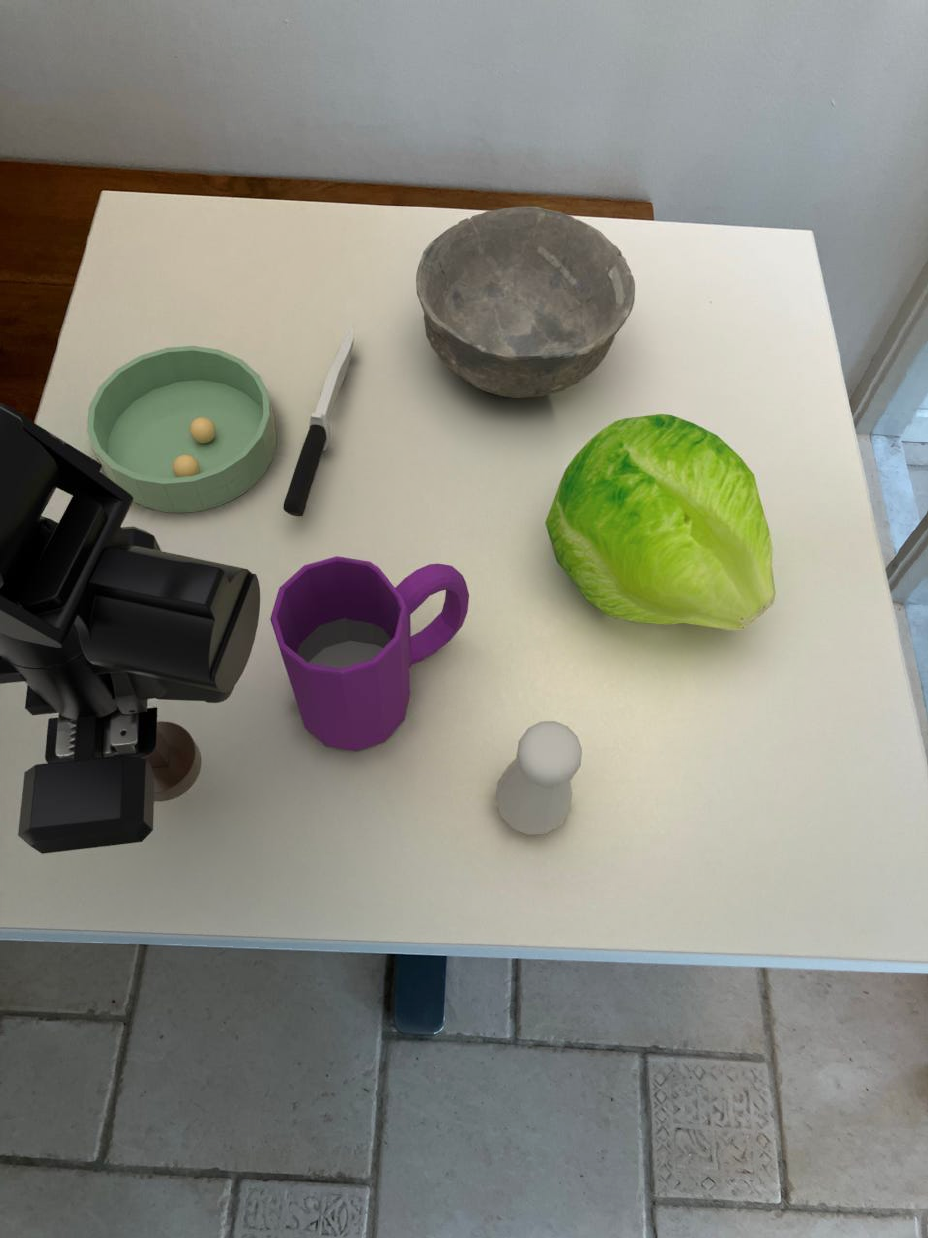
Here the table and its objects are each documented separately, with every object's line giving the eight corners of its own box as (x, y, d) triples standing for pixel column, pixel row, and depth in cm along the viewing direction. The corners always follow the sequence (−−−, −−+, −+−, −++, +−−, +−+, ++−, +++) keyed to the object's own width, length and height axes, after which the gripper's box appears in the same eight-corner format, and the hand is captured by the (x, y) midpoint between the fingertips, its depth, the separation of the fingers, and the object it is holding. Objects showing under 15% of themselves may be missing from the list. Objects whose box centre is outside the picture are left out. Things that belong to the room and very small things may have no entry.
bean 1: (175, 487, 81) (169, 471, 79) (176, 466, 82) (169, 450, 80) (202, 485, 82) (196, 468, 79) (202, 464, 83) (196, 448, 81)
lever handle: (125, 806, 61) (69, 751, 52) (128, 735, 64) (76, 670, 54) (201, 797, 62) (161, 741, 52) (201, 727, 64) (163, 661, 55)
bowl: (467, 262, 98) (472, 180, 89) (642, 324, 94) (665, 244, 86) (381, 388, 89) (376, 310, 80) (572, 462, 85) (589, 388, 76)
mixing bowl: (98, 521, 80) (81, 490, 76) (107, 386, 87) (92, 352, 83) (280, 504, 81) (272, 474, 77) (273, 373, 89) (265, 340, 85)
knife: (346, 338, 92) (342, 300, 87) (363, 340, 92) (360, 302, 87) (286, 536, 80) (277, 503, 75) (305, 539, 80) (298, 506, 75)
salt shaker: (481, 824, 68) (493, 769, 56) (508, 759, 71) (524, 693, 59) (553, 854, 67) (579, 803, 56) (577, 786, 70) (607, 725, 58)
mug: (276, 688, 73) (243, 597, 59) (430, 594, 77) (432, 491, 64) (336, 776, 69) (316, 700, 56) (494, 672, 74) (509, 579, 61)
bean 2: (192, 449, 83) (186, 432, 81) (192, 429, 85) (186, 412, 82) (218, 447, 84) (213, 430, 82) (218, 427, 85) (212, 410, 83)
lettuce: (657, 709, 75) (705, 656, 61) (503, 543, 81) (515, 459, 66) (790, 594, 79) (865, 518, 65) (635, 442, 84) (673, 342, 70)
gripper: (217, 780, 40) (269, 862, 53) (216, 453, 48) (261, 596, 62) (-43, 809, 39) (78, 885, 52) (4, 469, 47) (97, 611, 61)
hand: (138, 732), depth 57 cm, fingers closed on lever handle
